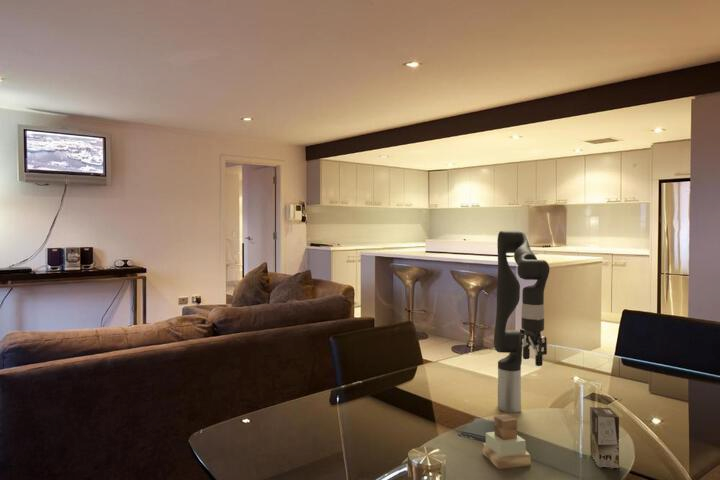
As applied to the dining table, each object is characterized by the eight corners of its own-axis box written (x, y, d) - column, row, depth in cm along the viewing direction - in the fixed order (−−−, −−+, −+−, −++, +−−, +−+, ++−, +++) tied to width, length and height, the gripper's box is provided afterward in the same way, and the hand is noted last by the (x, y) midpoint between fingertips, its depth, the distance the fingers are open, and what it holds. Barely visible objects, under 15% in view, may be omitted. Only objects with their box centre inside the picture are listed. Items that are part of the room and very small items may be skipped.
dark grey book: (475, 415, 190) (513, 423, 182) (475, 419, 190) (513, 428, 182) (454, 431, 174) (495, 441, 165) (454, 436, 174) (495, 446, 165)
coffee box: (620, 469, 147) (619, 417, 147) (597, 467, 148) (597, 415, 148) (610, 456, 156) (610, 407, 156) (589, 454, 157) (589, 406, 157)
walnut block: (494, 434, 156) (494, 416, 156) (507, 432, 158) (507, 414, 158) (503, 440, 151) (503, 421, 151) (516, 438, 153) (516, 419, 153)
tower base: (482, 455, 159) (482, 443, 159) (512, 452, 161) (512, 440, 161) (498, 470, 148) (498, 457, 148) (530, 467, 150) (530, 454, 150)
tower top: (485, 444, 157) (485, 432, 157) (509, 441, 160) (509, 429, 160) (500, 456, 149) (500, 443, 149) (525, 453, 151) (525, 440, 151)
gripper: (513, 313, 173) (512, 357, 174) (533, 320, 159) (533, 368, 160) (532, 312, 174) (531, 356, 175) (554, 320, 160) (553, 367, 161)
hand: (532, 362), depth 167 cm, fingers open, 8 cm apart
